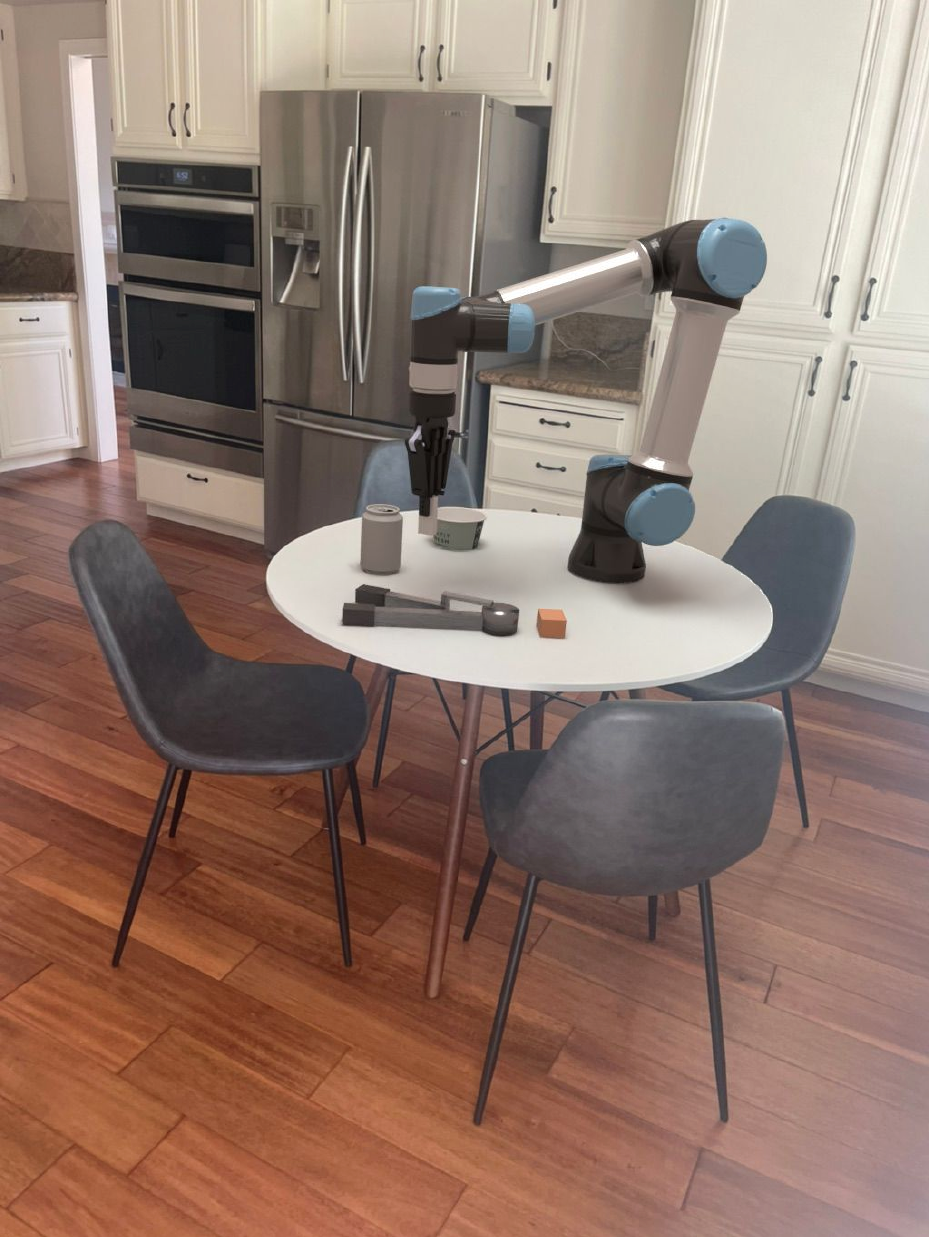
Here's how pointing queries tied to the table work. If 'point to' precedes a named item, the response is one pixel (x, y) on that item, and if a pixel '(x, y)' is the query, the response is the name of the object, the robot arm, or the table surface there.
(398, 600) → the tongs arm
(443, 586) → the table surface
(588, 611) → the table surface
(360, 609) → the tongs fixed
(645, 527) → the robot arm
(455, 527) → the food container
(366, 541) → the can
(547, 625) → the terracotta clay cube
